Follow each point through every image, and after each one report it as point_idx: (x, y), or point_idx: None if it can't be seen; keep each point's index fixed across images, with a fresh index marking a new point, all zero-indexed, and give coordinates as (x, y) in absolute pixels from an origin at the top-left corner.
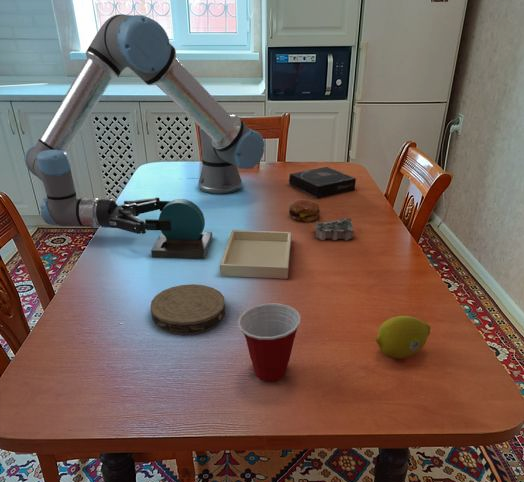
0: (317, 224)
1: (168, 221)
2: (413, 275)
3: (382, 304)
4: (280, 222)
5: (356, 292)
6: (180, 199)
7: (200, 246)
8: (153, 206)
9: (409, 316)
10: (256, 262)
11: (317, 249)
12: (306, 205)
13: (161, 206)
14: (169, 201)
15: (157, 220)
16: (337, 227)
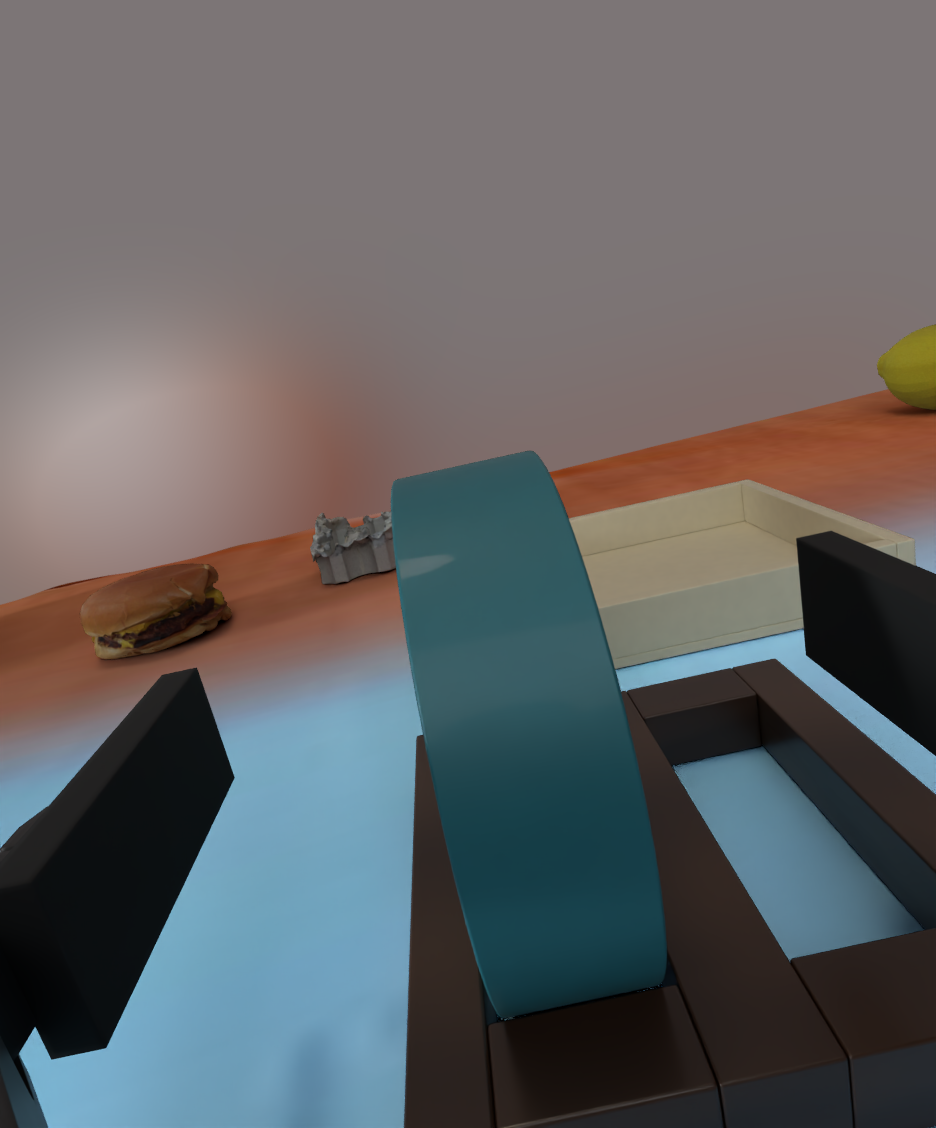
0: (345, 543)
1: (841, 538)
2: (587, 471)
3: (757, 452)
4: (208, 661)
5: (730, 471)
6: (417, 477)
7: (697, 695)
8: (21, 1080)
9: (912, 334)
10: (689, 575)
11: None
12: (176, 571)
13: (90, 931)
14: (105, 759)
15: (927, 576)
16: (333, 549)
